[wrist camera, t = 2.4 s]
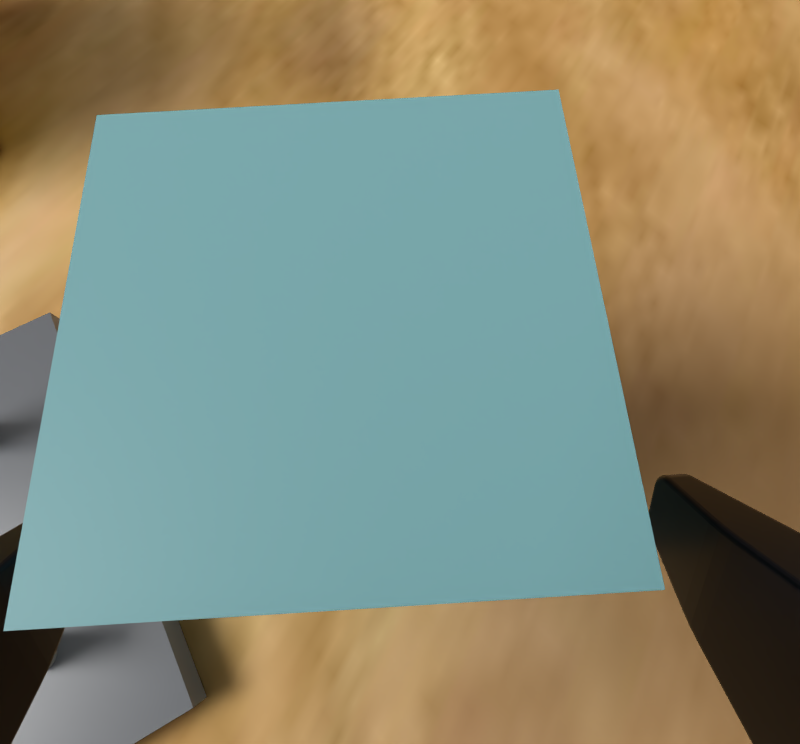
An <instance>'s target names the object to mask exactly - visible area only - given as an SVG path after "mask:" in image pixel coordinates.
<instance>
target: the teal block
mask: <svg viewBox="0 0 800 744" xmlns="http://www.w3.org/2000/svg"><path fill="white" fill-rule="evenodd" d="M654 590H665V587H664V583H663V578H662V573H661V569H660V564H659V559H658V554H657V550H656V545H655V540H654V536H653V531H652V526H651V522H650V517H649V512H648V508H647V503H646V498H645V493H644V489H643V484H642V479H641V475H640V470H639V465H638V461H637V456H636V451H635V447H634V442H633V437H632V433H631V428H630V423H629V418H628V414H627V409H626V404H625V400H624V395H623V390H622V386H621V381H620V376H619V372H618V367H617V362H616V358H615V353H614V348H613V343H612V339H611V334H610V329H609V325H608V320H607V315H606V311H605V306H604V301H603V297H602V292H601V287H600V283H599V278H598V273H597V268H596V264H595V259H594V254H593V250H592V245H591V240H590V236H589V231H588V226H587V222H586V217H585V212H584V208H583V203H582V198H581V193H580V189H579V184H578V179H577V175H576V170H575V165H574V161H573V156H572V151H571V147H570V142H569V137H568V132H567V128H566V123H565V118H564V114H563V109H562V104H561V100H560V95H559V90H545V91H527V92H509V93H491V94H472V95H454V96H436V97H418V98H399V99H381V100H363V101H345V102H326V103H308V104H290V105H272V106H254V107H235V108H217V109H199V110H181V111H162V112H144V113H126V114H108V115H97V117H96V122H95V128H94V133H93V139H92V144H91V150H90V155H89V161H88V166H87V172H86V177H85V183H84V188H83V194H82V199H81V205H80V210H79V216H78V221H77V227H76V233H75V238H74V244H73V249H72V255H71V260H70V266H69V271H68V277H67V282H66V288H65V293H64V299H63V304H62V310H61V315H60V321H59V326H58V332H57V337H56V343H55V348H54V354H53V359H52V365H51V371H50V376H49V382H48V387H47V393H46V398H45V404H44V409H43V415H42V420H41V426H40V431H39V437H38V442H37V448H36V453H35V459H34V464H33V470H32V475H31V481H30V486H29V492H28V497H27V503H26V508H25V514H24V520H23V525H22V531H21V536H20V542H19V547H18V553H17V558H16V564H15V569H14V575H13V580H12V586H11V591H10V597H9V602H8V608H7V613H6V619H5V624H4V630H3V631H14V630H30V629H46V628H62V627H78V626H94V625H110V624H126V623H142V622H158V621H174V620H190V619H206V618H222V617H238V616H254V615H270V614H286V613H302V612H318V611H334V610H350V609H366V608H382V607H398V606H414V605H430V604H446V603H462V602H478V601H494V600H510V599H526V598H542V597H558V596H574V595H590V594H606V593H622V592H638V591H654Z"/></svg>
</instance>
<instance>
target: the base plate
mask: <svg viewBox="0 0 800 744" xmlns="http://www.w3.org/2000/svg"><path fill="white" fill-rule="evenodd" d="M59 321H60V319H59V318H58V317H56V316H54V315H53V314H51V313H48V314H45V315H43V316H41V317H39V318H37V319H35V320H32V321H30V322H28V323H26V324H24V325H22V326H19V327H17V328H15V329H13V330H11V331H8V332H6V333H4V334H2V335H0V536H1V535H3V534H4V533H6V532H8V531H9V530H11V529H13V528H15V527H16V526H18V525H20V524H21V523H23V520H24V514H25V508H26V503H27V497H28V492H29V486H30V481H31V475H32V470H33V464H34V459H35V453H36V448H37V442H38V437H39V431H40V426H41V420H42V415H43V409H44V404H45V398H46V393H47V387H48V382H49V376H50V371H51V365H52V359H53V354H54V348H55V343H56V337H57V332H58V326H59ZM206 697H207V696H206V694H205V691H204V688H203V686H202V683H201V680H200V678H199V675H198V672H197V670H196V667H195V664H194V662H193V659H192V656H191V653H190V651H189V648H188V645H187V643H186V640H185V637H184V635H183V632H182V629H181V627H180V624H179V621H178V620H174V621H158V622H142V623H126V624H110V625H94V626H78V627H65V629H64V632H63V635H62V637H61V640H60V642H59V645H58V648H57V650H56V652H55V655H54V657H53V659H52V662H51V664H50V667H49V669H48V671H47V673H46V675H45V677H44V679H43V681H42V684H41V686H40V688H39V690H38V692H37V694H36V696H35V698H34V700H33V702H32V704H31V706H30V708H29V710H28V712H27V714H26V716H25V718H24V720H23V722H22V724H21V726H20V728H19V730H18V732H17V734H16V736H15V738H14V740H13V742H12V744H134V743H136V742H138V741H139V740H141V739H143V738H144V737H146V736H147V735H149V734H151V733H152V732H154V731H156V730H157V729H159V728H161V727H162V726H164V725H166V724H167V723H169V722H171V721H172V720H174V719H175V718H177V717H179V716H180V715H182V714H184V713H185V712H187V711H189V710H190V709H192V708H193V707H195V706H196V705H197V704H199V703H200V702H201V701H203V700H204V699H205V698H206Z"/></svg>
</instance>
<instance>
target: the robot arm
mask: <svg viewBox="0 0 800 744" xmlns="http://www.w3.org/2000/svg"><path fill="white" fill-rule="evenodd" d="M649 517H650V522H651V526H652V531H653V536H654V540H655V545H656V547H657V550H658V552H659V555H660V557H661V559H662V562H663V564H664V567H665V569H666V571H667V574H668V576H669V579H670V581H671V583H672V586H673V588H674V591H675V593H676V595H677V598H678V600H679V603H680V605H681V607H682V610H683V612H684V614H685V617H686V619H687V621H688V623H689V625H690V628H691V629H692V631H693V633H694V635H695V637H696V639H697V641H698V643H699V645H700V647H701V649H702V651H703V652H704V654H705V656H706V658H707V660H708V662H709V664H710V665H711V667H712V669H713V671H714V673H715V675H716V677H717V678H718V680H719V682H720V684H721V686H722V688H723V690H724V691H725V693H726V695H727V697H728V699H729V701H730V703H731V704H732V706H733V708H734V710H735V712H736V714H737V716H738V717H739V719H740V721H741V723H742V725H743V727H744V729H745V730H746V732H747V734H748V736H749V738H750V740H751V741H752V743H753V744H800V533H799V532H797V531H795V530H793V529H791V528H790V527H788V526H786V525H784V524H782V523H780V522H778V521H776V520H774V519H772V518H770V517H769V516H767V515H765V514H763V513H761V512H759V511H757V510H755V509H753V508H751V507H749V506H748V505H746V504H744V503H742V502H740V501H738V500H736V499H734V498H732V497H730V496H728V495H727V494H725V493H723V492H721V491H719V490H717V489H715V488H713V487H711V486H709V485H707V484H705V483H704V482H702V481H700V480H698V479H696V478H694V477H692V476H690V475H687V474H676V475H663V476H661V477H659V478H658V479H657V481H656V483H655V487H654V491H653V496H652V500H651V505H650V509H649ZM22 525H23V523H21V524H20V525H18V526H16V527H15V528H13V529H11V530H9V531H8V532H6V533H4V534H3V535H1V536H0V744H12V742H13V740H14V738H15V736H16V734H17V732H18V730H19V728H20V726H21V724H22V722H23V720H24V718H25V716H26V714H27V712H28V710H29V708H30V706H31V704H32V702H33V700H34V698H35V696H36V694H37V692H38V690H39V688H40V686H41V684H42V681H43V679H44V677H45V675H46V673H47V671H48V669H49V667H50V664H51V662H52V659H53V657H54V655H55V652H56V650H57V648H58V645H59V642H60V640H61V637H62V635H63V632H64V629H65V627H62V628H46V629H30V630H14V631H3V630H4V624H5V619H6V613H7V608H8V602H9V597H10V591H11V586H12V580H13V575H14V569H15V564H16V558H17V553H18V547H19V542H20V536H21V531H22Z"/></svg>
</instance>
